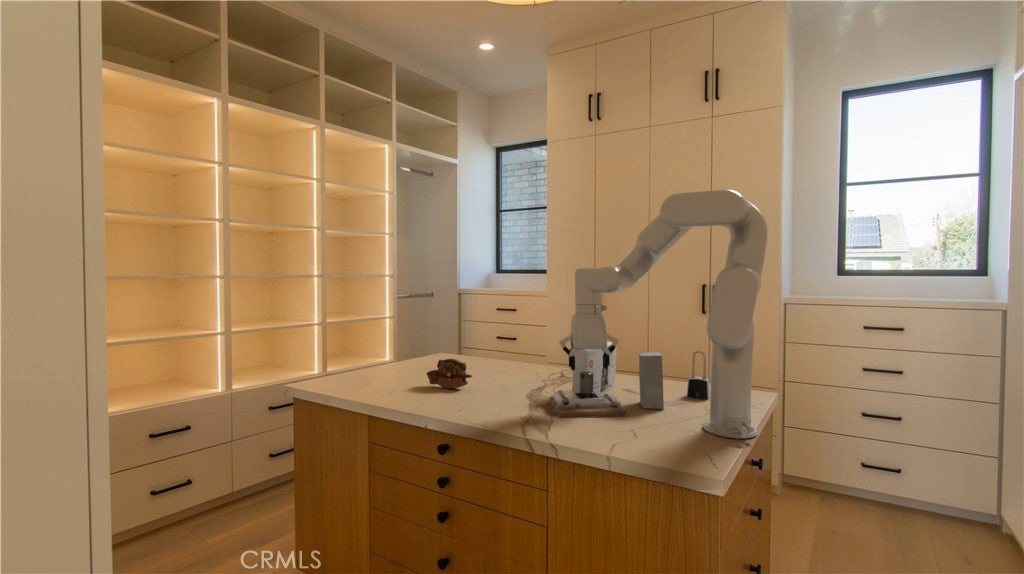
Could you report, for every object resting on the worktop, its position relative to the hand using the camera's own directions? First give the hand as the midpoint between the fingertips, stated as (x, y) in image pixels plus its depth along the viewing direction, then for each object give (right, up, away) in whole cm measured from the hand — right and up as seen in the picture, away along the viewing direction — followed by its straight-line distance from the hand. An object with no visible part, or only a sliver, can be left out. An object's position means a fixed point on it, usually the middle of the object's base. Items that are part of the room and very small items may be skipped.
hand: (589, 368), depth 148 cm
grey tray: (-1, -11, +1) cm, 11 cm away
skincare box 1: (+5, -11, +19) cm, 23 cm away
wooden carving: (-44, -11, +23) cm, 51 cm away
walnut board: (-1, -12, +1) cm, 12 cm away
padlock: (+37, -12, +15) cm, 42 cm away
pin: (-1, -10, +1) cm, 10 cm away
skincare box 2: (+19, -12, +4) cm, 23 cm away
